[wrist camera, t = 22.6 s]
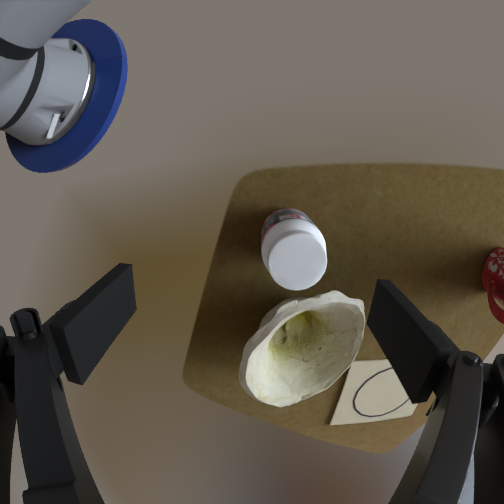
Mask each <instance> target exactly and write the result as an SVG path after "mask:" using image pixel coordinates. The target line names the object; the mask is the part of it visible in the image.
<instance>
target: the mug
mask: <svg viewBox="0 0 504 504" xmlns="http://www.w3.org/2000/svg"><path fill="white" fill-rule="evenodd" d="M482 284H483V287H484V289H485V290H486V291H487V292H488V302H489V307H490V310H491V312H492V314H493V316H494V317H495V318H496V319H497V320H498V321H499V322H501V323H503V324H504V310H503V309H501V308H500V307H499V306H498V305H497V304H496V302H495V300H494V297H495V298H496V299H497V300H498V301H500V302H501V303H502V304H503V305H504V248H502V247H500V248H497V249H495V250H494V251H493V252H492V253H491V254H490V255H489V257H488V258H487V260H486V262H485V264H484V267H483V271H482Z"/></svg>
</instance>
